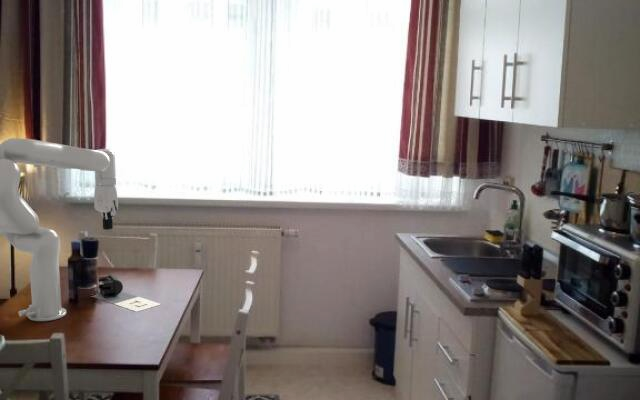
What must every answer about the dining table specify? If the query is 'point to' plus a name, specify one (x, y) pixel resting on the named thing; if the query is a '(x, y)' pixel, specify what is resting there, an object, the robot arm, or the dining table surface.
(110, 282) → the end cap
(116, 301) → the mat
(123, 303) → the board
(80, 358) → the dining table surface
